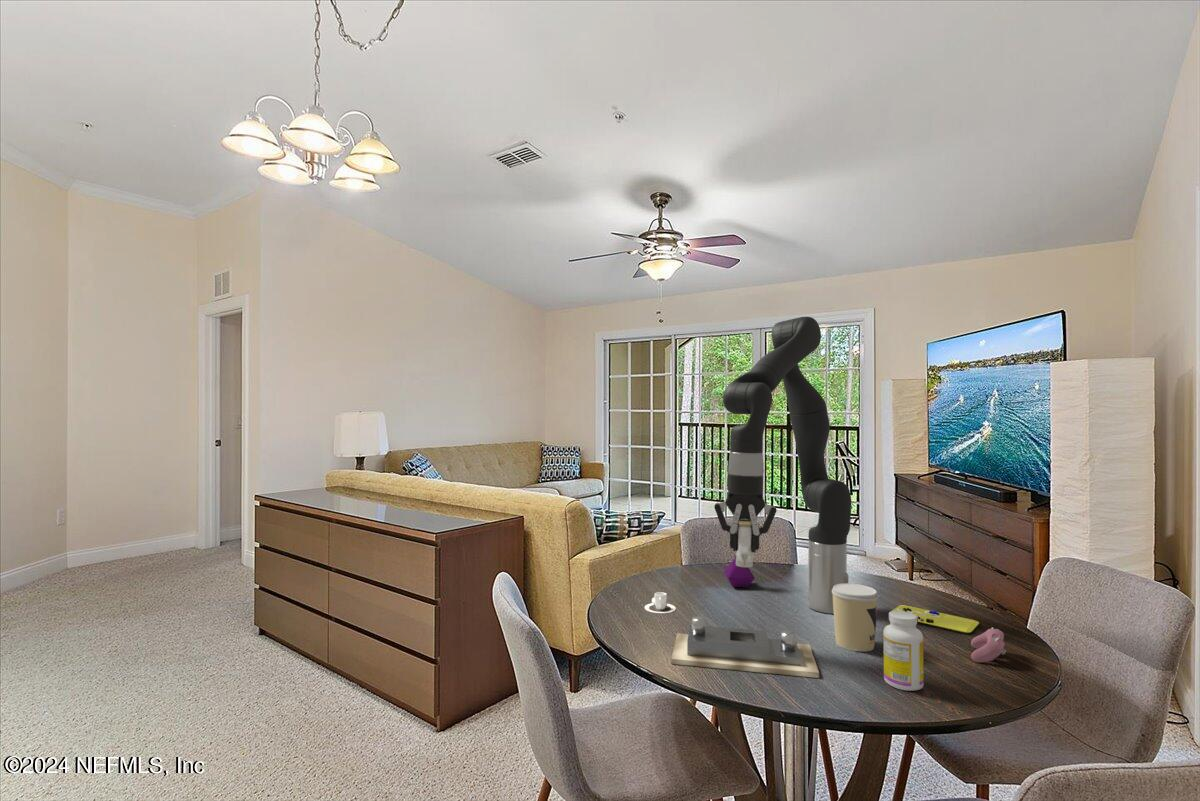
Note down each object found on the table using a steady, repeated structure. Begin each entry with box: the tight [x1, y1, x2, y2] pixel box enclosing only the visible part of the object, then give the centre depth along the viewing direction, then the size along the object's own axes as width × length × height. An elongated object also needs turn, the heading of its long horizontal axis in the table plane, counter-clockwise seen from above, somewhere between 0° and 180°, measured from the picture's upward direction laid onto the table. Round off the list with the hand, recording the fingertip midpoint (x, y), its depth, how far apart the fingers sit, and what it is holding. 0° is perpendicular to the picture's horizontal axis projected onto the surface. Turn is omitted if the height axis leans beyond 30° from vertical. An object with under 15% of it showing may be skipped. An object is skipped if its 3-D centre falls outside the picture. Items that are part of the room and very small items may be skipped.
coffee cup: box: [832, 583, 879, 653], centre depth 130 cm, size 9×9×12 cm
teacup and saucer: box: [644, 591, 677, 614], centre depth 153 cm, size 9×8×4 cm
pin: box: [735, 519, 754, 568], centre depth 132 cm, size 4×4×10 cm
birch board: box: [670, 632, 820, 679], centre depth 123 cm, size 28×14×1 cm, turn 78°
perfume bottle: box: [723, 553, 755, 588], centre depth 173 cm, size 8×8×18 cm
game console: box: [891, 604, 980, 635], centre depth 146 cm, size 18×11×2 cm, turn 48°
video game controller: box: [970, 627, 1006, 663], centre depth 124 cm, size 10×5×7 cm, turn 148°
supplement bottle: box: [882, 610, 925, 692], centre depth 111 cm, size 7×7×13 cm
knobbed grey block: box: [687, 616, 801, 666], centre depth 123 cm, size 22×9×6 cm, turn 78°
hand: (744, 550), depth 132 cm, fingers closed on pin, 3 cm apart
